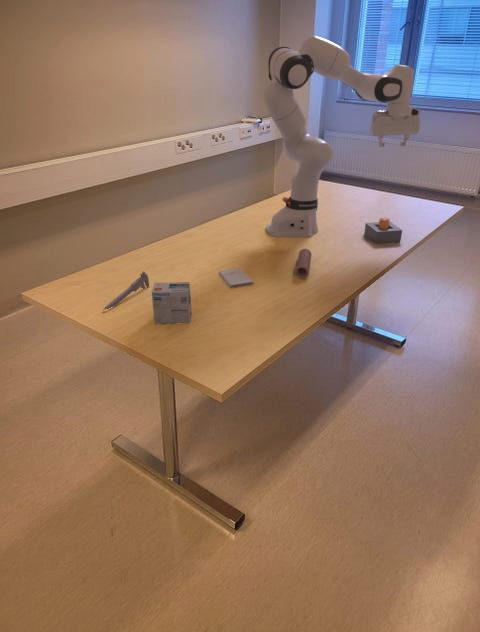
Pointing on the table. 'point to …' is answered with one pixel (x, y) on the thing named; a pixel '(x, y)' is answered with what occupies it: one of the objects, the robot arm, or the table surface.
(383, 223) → the peg
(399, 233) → the socket holder
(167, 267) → the table surface
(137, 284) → the caliper
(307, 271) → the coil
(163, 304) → the light bulb box
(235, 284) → the external hard drive
